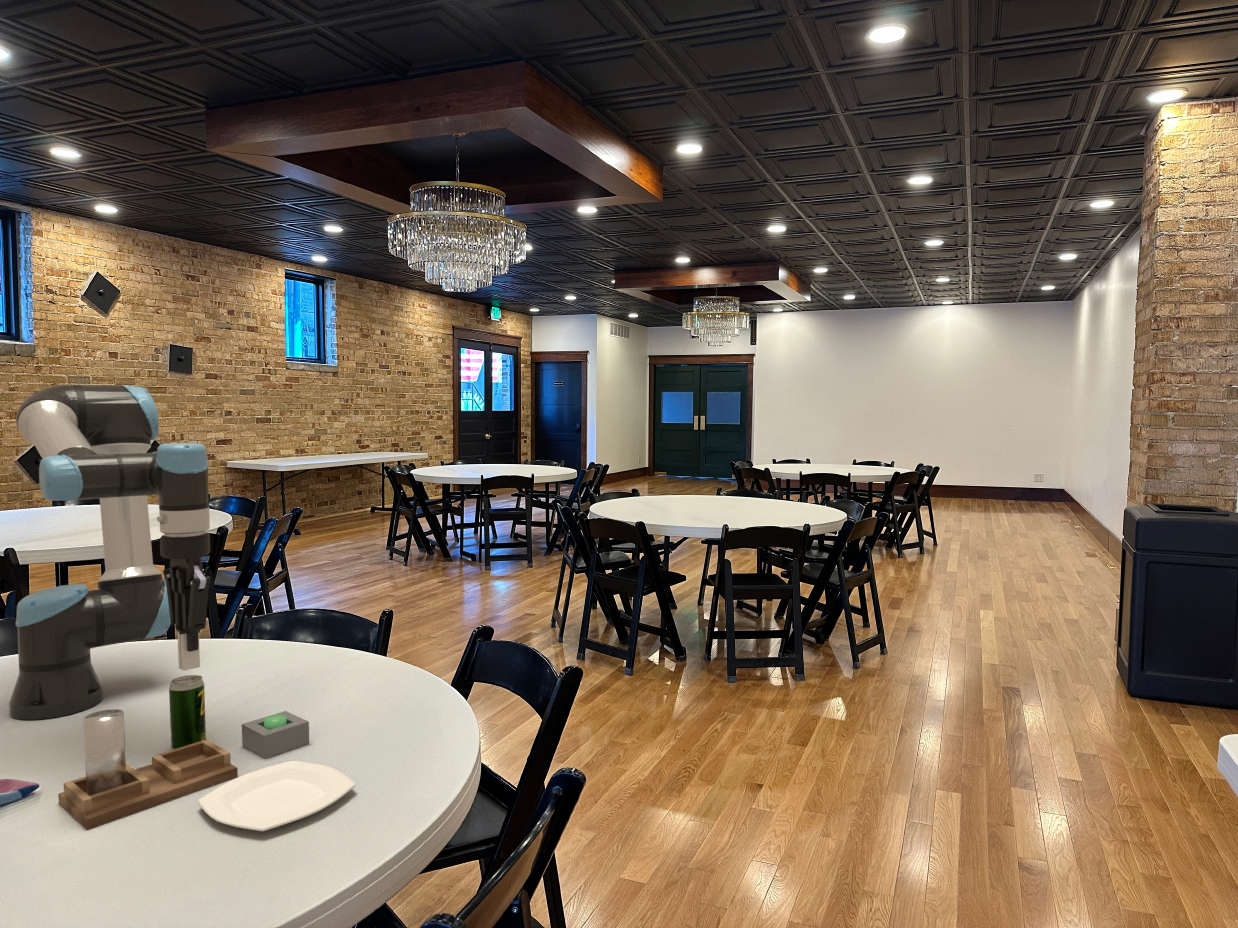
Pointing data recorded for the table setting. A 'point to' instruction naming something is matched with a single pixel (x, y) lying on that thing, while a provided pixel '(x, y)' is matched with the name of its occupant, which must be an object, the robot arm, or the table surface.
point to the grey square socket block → (275, 736)
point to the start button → (275, 721)
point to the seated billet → (104, 750)
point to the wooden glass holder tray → (150, 784)
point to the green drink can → (187, 711)
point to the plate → (276, 795)
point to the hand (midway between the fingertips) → (189, 667)
